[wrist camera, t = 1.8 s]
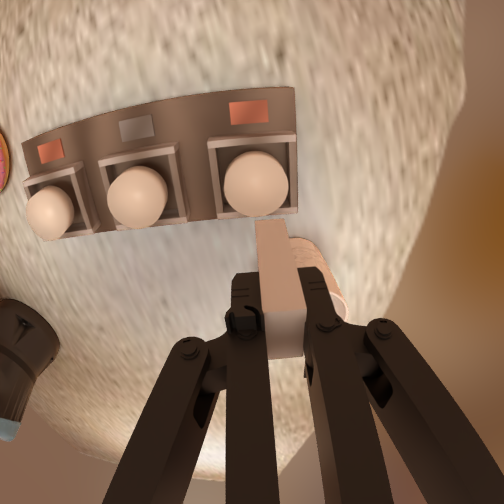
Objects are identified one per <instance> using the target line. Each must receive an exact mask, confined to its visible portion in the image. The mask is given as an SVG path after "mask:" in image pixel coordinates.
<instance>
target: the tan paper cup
mask: <svg viewBox="0 0 504 504" xmlns="http://www.w3.org/2000/svg"><path fill="white" fill-rule="evenodd" d="M289 240H290V244H291V247H292V251H293V255H294V259H295V263H296V267H297V268H301V267H312V266H316V267H317V268H318V269H319V270H320V271H321V272H322V273H323V276H324V278H325V282H326V284H327V287H328V290H329V293H330V296H331V299H332V302H333V305H334V308H335V311H336V313H337V315H339V316H340V317H341V318H342V319H343V321H345V322H346V321H347V318H348V306H347V304H346V302H345V299H344V297H343V295H342V293H341V291H340V289H339V287H338V285H337V283H336V281H335V279H334V277H333V275H332V273H331V271H330V269H329V267H328V265H327V263H326V262H325V260H324V259H323V257H322V255H321V253H320V251H319V249H318V248H317V247H316V246H315V245H314V244H313V243H312V242H311V241H308V240H305V239H302V238H289Z"/></svg>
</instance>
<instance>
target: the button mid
mask: <svg viewBox="0 0 504 504" xmlns="http://www.w3.org/2000/svg"><path fill="white" fill-rule="evenodd" d="M167 200H168V189H167V185H166V183H165V181H164V179H163V178H162V176H161V175H160V174H159V173H158V172H156V171H155V170H153V169H151V168H149V167H145V166H134V167H131V168H128V169H127V170H125V171H124V172H123V173H122V174H121V175H120V176H119V177H117V178H116V179H115V180H114V182H113V183H112V184H111V186H110V188H109V190H108V194H107V203H108V207H109V210H110V212H111V214H112V215H113V216H114V218H115V219H116V220H117V221H118V222H120V223H121V224H123V225H125V226H127V227H130V228H134V229H142V228H146V227H149V226H151V225H152V224H154V223H155V222H156V221H157V220H158V219H159V217H160V215H161V213H162V211H163V209H164V207H165V205H166V203H167Z"/></svg>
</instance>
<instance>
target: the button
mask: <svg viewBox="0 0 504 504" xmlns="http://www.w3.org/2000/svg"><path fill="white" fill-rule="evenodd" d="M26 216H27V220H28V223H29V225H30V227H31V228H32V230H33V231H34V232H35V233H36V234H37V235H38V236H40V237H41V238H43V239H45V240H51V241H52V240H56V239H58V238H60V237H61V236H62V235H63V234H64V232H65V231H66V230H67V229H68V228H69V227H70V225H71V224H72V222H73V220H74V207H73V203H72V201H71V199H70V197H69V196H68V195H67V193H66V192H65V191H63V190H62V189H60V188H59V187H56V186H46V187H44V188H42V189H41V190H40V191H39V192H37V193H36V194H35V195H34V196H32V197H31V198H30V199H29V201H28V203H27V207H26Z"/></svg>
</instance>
